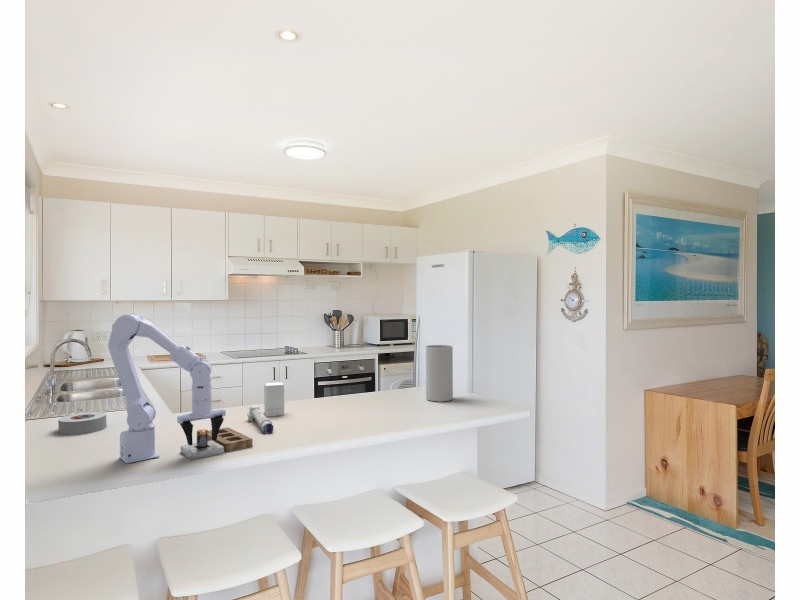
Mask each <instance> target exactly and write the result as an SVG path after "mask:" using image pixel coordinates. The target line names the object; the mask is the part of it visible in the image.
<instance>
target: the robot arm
mask: <svg viewBox="0 0 800 600" xmlns="http://www.w3.org/2000/svg"><path fill="white" fill-rule="evenodd" d="M135 337H141V338H148V339H150V340H151V341H153V342H154V343H155V344H157V345H158V346H160V347H161V348H163V349H164V350H165V351H166V352H168V353H169V356H170V359H171V361H172V362H174V363H175V364H177V365H178V366H179V367H181V368H182V369H184V371H186V372H189V376H190V378H192V384H191V413H187V414H182V415H178V416H177V417H176V418H177V419H176V422H177V424H180V427H181V429H182V430H183V433H184V434H185V439H186V441H187V445H192V444H193V428H194V424H193V423H192V422H195V421H201V420H206V419H210V425H211V430H212V440H214V441H216V440H217V435H218V432H219V429H221V427H222V424H223V423H224V421H225V420H224V419H225V418H224V417H226V415H227V414H226V410H225V409H214V410H212V384H211V380H212V379H211V374H212V370H213V369H212V365H211V363H210V361H208V360H206V359H204V357H202V356H199V355H197V354H196V353H195V352H194V351H192V350H191V349H192V347H191V346H190V345H187V346H186V345H185V344H177V343H176V342H175V341H173V340H172V339H171V338H170V337H169V336H167V335H166V334H165V333H164V332H163V331H162V330H160V329H159V328H158V327H157V326H155V324H153V323H152V322H151V321H150V320H148V319H146V318H144V317H143V316H142V315H141V314H138V313H130V314H124V315H120V316H119V317H117V319H116V320H115V322H114V323H113V324H112V325H111V331H110V335H109V341H108V343H107V348H108V351H109V354H110V357H111V359H112V362H113V366H114V368H115V370H116V374H117V377H118V380H119V384H120V385H121V389H122V391H123V394H124V397H125V400H126V406H125V408H126V409H125V410H126V413H127V416H126V423H127V426H128V429H127V430H124V431H123V430H122V431H121V432H120V433H119V459H121V460H122V461H123V462H124V463H125V464H130V463H134V462H140V461H144V460H151V459H154V458H155V459H156V458H159V457H160V454H158V453H157V452H156V434H155V433H156V431H155V430H156V428H155V427H156V426H155V425H156V424H155V423H154V422H153V420H154V419H155V418H156V415H157V414H156V413H157V412H156V409H155V407H154V406H153V405H152V404H151V403H150V400H149V398H148V397H147V396H146V394H145V393H144V390H143V387H142V385H141V384H142V383H141V381H140V378H139V375H138V372H137V368H136V367H135V363H134V360H133V358H132V354H131V351H130V349H129V346H130V344H131V343H132V342H133V339H134V338H135Z"/></svg>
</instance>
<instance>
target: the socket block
mask: <svg viewBox="0 0 800 600" xmlns="http://www.w3.org/2000/svg"><path fill="white" fill-rule="evenodd" d="M224 453H225V451H224V447H223V446H221V445H220V444H218V443H216V442H214V441H212V440H211V441H208V447H207V448H201V449H197V442H196V443H192V445H188V444H186V445H180V454H182V455H184V457H187V458H188V459H190V460H191V461H194V460H198V459H202V458H207V457H213V456H218V455H221V454H224Z"/></svg>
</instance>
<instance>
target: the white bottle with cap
mask: <svg viewBox="0 0 800 600" xmlns="http://www.w3.org/2000/svg"><path fill="white" fill-rule="evenodd" d="M260 409H261V408H260V406H259V405H258V404H252V405H250V406H249V411H248V412H247V420H248V422H251V423H257V424H258V427H259V429H260V430H261V431H262V432H263V433H264V434H271V433H272V432H274V426H275V425H273V422H272V421H271V420H270V419H268V418H267V416H266V415H265V414H264V413H262V411H261V410H260Z"/></svg>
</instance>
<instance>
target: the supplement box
mask: <svg viewBox="0 0 800 600" xmlns="http://www.w3.org/2000/svg"><path fill="white" fill-rule="evenodd" d="M263 384H264V385H263V406H264V407H263V409H264V411H263V414H264V415H265V417H276V416H277V415H278V416H285V383H282V382H281V381H278V382H269V383H268V382H266V383H263ZM278 416H277V417H278Z"/></svg>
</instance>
